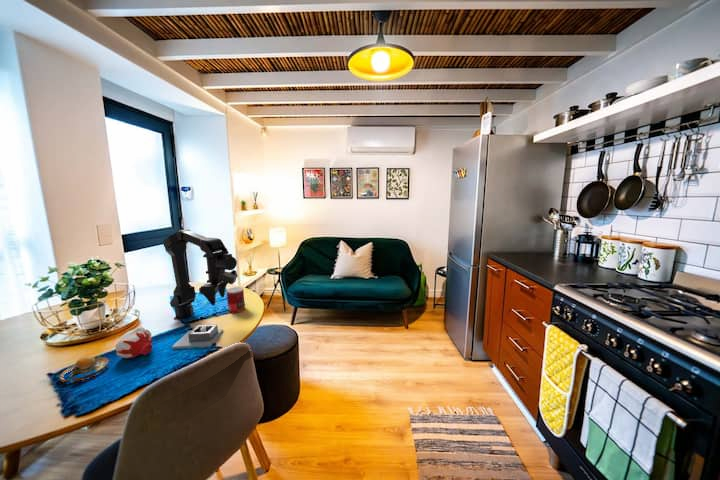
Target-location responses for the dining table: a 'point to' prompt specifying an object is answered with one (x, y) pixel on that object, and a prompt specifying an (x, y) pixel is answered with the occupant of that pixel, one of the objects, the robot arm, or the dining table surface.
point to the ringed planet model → (85, 367)
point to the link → (203, 333)
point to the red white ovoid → (134, 343)
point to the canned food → (235, 299)
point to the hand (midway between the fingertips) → (218, 301)
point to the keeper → (186, 344)
